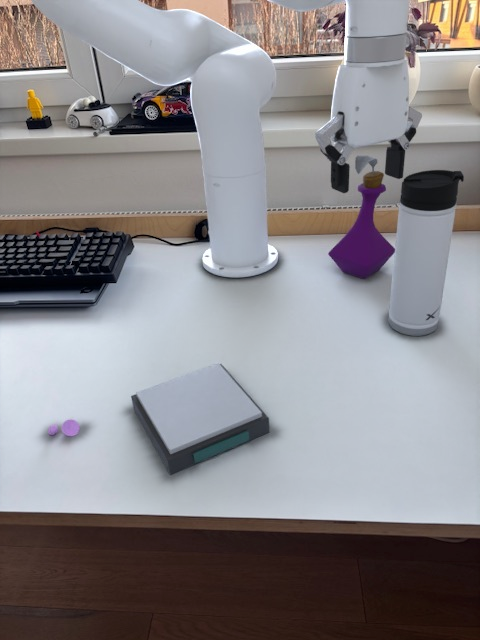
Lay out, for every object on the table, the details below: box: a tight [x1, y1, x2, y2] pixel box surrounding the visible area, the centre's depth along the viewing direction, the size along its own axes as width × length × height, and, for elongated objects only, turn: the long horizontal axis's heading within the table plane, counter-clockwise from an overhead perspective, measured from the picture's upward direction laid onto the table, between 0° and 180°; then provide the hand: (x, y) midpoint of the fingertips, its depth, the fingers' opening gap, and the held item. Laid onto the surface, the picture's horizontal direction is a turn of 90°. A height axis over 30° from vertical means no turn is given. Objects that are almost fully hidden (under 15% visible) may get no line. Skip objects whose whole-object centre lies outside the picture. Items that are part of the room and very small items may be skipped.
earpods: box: [47, 419, 80, 437], centre depth 58 cm, size 3×2×2 cm
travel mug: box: [387, 169, 465, 337], centre depth 66 cm, size 6×7×20 cm
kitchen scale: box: [130, 362, 270, 475], centre depth 57 cm, size 11×11×3 cm
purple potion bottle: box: [327, 155, 395, 280], centre depth 80 cm, size 8×8×18 cm
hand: (367, 183), depth 78 cm, fingers open, 9 cm apart
